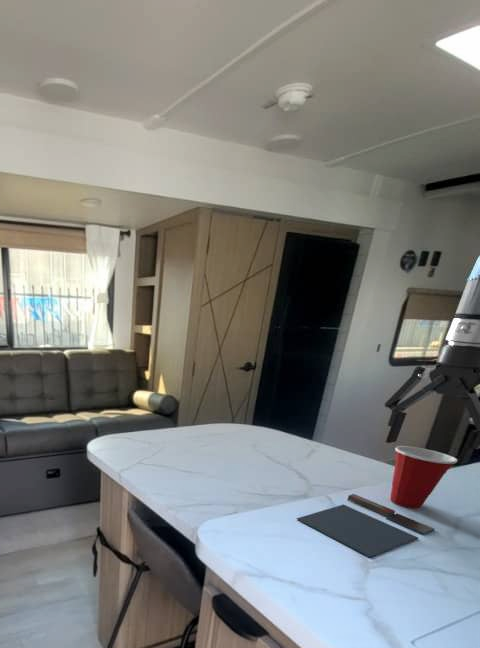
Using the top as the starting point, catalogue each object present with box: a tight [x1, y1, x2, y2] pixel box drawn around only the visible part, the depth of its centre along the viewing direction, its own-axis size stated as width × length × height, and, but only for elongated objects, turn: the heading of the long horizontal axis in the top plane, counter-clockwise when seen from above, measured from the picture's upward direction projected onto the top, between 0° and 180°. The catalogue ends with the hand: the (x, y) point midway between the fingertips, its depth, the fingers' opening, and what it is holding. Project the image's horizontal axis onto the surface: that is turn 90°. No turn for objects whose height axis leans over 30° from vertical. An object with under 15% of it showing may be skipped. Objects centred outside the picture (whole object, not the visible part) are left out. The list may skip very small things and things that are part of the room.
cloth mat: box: [296, 503, 419, 559], centre depth 79 cm, size 15×15×1 cm
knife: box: [347, 493, 435, 536], centre depth 85 cm, size 16×4×1 cm, turn 27°
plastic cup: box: [390, 445, 458, 509], centre depth 88 cm, size 11×11×12 cm
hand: (424, 451), depth 85 cm, fingers open, 13 cm apart
